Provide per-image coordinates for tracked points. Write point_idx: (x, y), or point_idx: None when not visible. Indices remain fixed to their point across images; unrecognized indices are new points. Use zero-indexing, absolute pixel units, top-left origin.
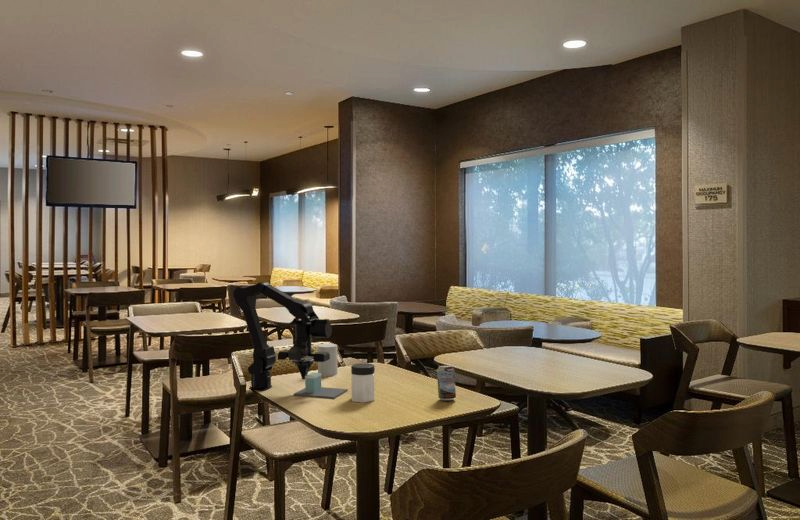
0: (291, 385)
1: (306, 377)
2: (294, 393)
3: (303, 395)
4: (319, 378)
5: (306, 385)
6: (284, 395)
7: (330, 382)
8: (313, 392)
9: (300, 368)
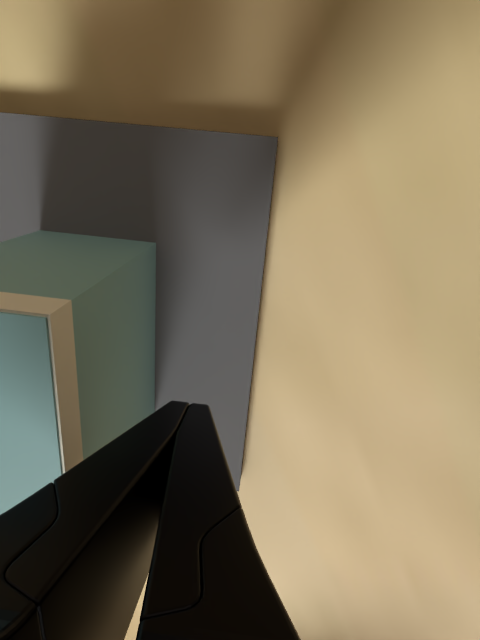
0: (441, 537)
1: (34, 302)
2: (271, 157)
3: (133, 125)
4: None
5: (105, 261)
6: (404, 115)
7: (133, 632)
8: (44, 231)
9: (185, 549)
